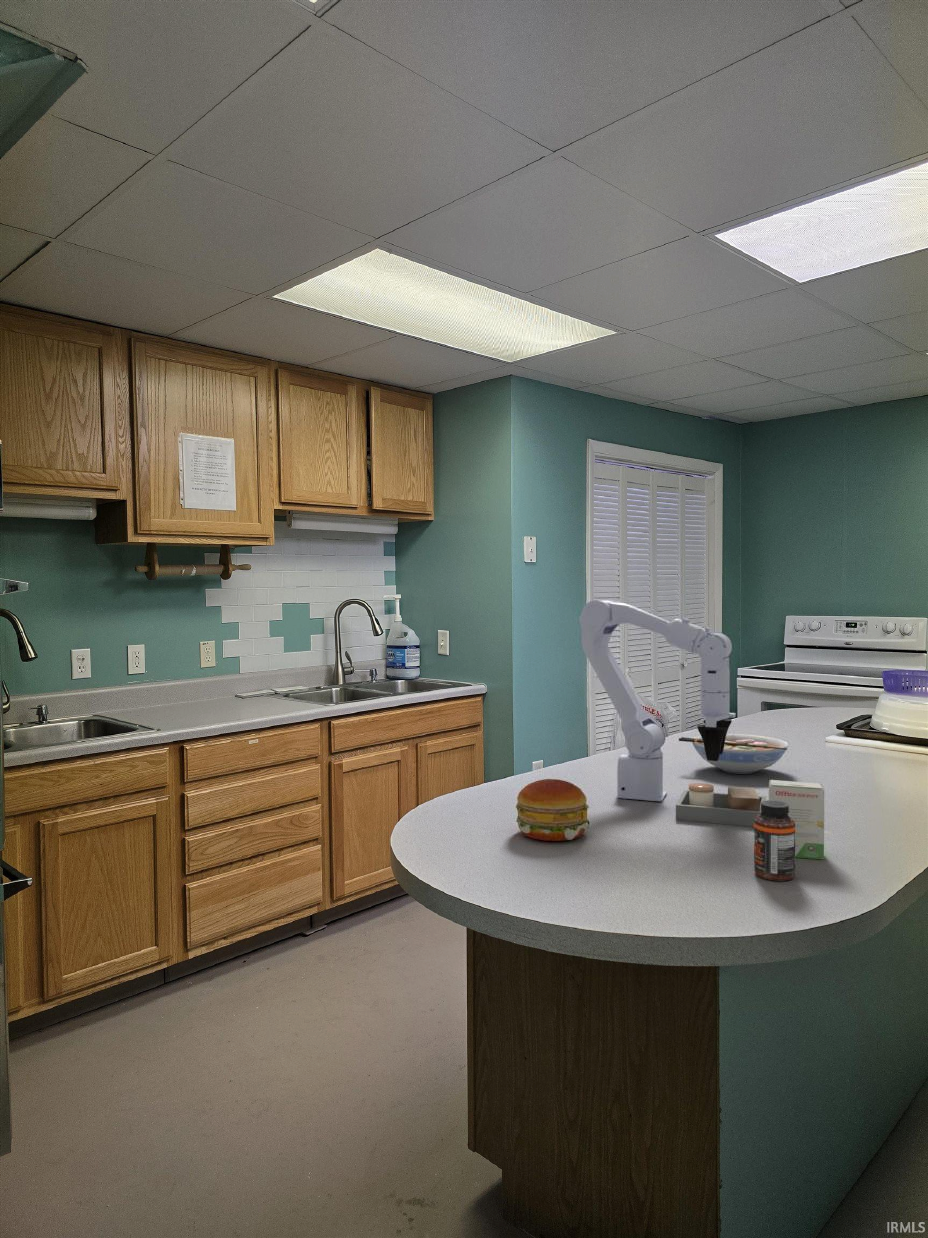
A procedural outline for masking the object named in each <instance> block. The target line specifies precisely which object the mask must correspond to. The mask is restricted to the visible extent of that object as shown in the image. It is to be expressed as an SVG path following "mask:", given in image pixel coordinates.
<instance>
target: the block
mask: <svg viewBox="0 0 928 1238" xmlns="http://www.w3.org/2000/svg"><path fill="white" fill-rule="evenodd" d="M727 794H728V808H727V809H739V810H750V811H759V810H760V798H759V796H760V795H758V793H757V791H756V789H755V787H742V786H741V787H739V786H727Z"/></svg>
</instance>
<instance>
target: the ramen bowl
mask: <svg viewBox="0 0 928 1238" xmlns="http://www.w3.org/2000/svg"><path fill="white" fill-rule="evenodd" d="M678 742H685V743H686V742H687V743H692V745H693V748H694V749H695V751H696V752H697V754H698V755H699V756H700V757H701V758H702V759H703V760H704V761H705V762H707V763H709V765H712V766H714V767H717V768H718V769H721V770H722V771H723V772H725V773H726V772H727V773H730V774H739V775H750V774H751V775H752V774H754V773H755V772H757V771H761V770H764V769H766V768H770V767H772V766H773V765H774V764H776V763H777V762H779V760H780V759H781V758H782V756H783V755H784V754H785V752H786V751H787V750H788V747H789V746H788V745H789V744H788V742H787V741H785V740H782V739H779V738H776V737H775V738H774V737H771V736H770V737H769V736H763V735H754V734H744V733H743V734H742V733H739V734H738V733H727V734H726V739H725V744H724V750H723V753H722V754H720V755H719V759H718V761H708V760H707V758H706V753H705V748H704V743H703V740H702V737H701V735H698V736H694V737H686V736H685V737H684V736H681V737H679V738H678Z"/></svg>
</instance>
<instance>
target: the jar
mask: <svg viewBox="0 0 928 1238" xmlns="http://www.w3.org/2000/svg"><path fill="white" fill-rule="evenodd" d="M688 790H689V805H693V806H704V807H713V792H714V790H715V786H714V785H713V784H710V783H703V782H695V783H692V782H691V783H689V784H688Z"/></svg>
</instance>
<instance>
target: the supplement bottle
mask: <svg viewBox="0 0 928 1238" xmlns="http://www.w3.org/2000/svg"><path fill="white" fill-rule="evenodd" d="M788 813H789V805H788V804H787V803H785V802H782V801H775V800H769V799H768V800H766V801H763V802H761V814H759V815H758V816H756V818H755V821H754V827H753V830H754V832H753V833H754V834H753V837H754V838H753V840H754V841H753V845H754V846H753V849H754V850H753V854H754V855H753V864H754V867H753V869H754V873H755V874H756V876H758V877H759V878H762V879H764V880H768V881H775V882H786V881H790V880H792V879H794V878H795V875H796V857H795V821H794V820H793V819H792V818H791V817H790V816H788Z"/></svg>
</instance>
